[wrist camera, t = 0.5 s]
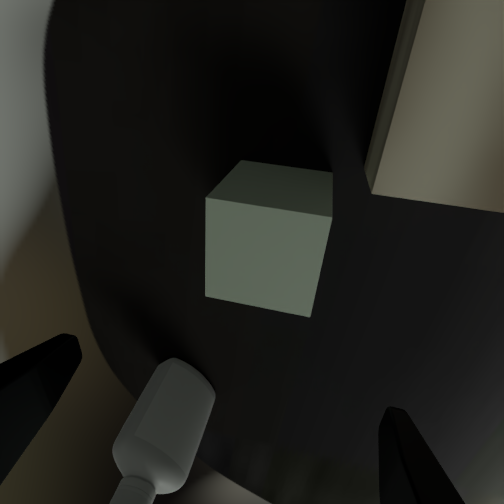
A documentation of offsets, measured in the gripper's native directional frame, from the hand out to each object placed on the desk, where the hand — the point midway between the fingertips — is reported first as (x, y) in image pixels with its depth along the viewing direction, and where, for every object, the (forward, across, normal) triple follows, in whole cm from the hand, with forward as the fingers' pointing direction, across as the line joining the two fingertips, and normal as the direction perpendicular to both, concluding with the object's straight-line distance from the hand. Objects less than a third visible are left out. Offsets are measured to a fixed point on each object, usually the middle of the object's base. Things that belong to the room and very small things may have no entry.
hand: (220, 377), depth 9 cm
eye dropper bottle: (+12, +6, +16) cm, 21 cm away
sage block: (+12, 0, 0) cm, 12 cm away
